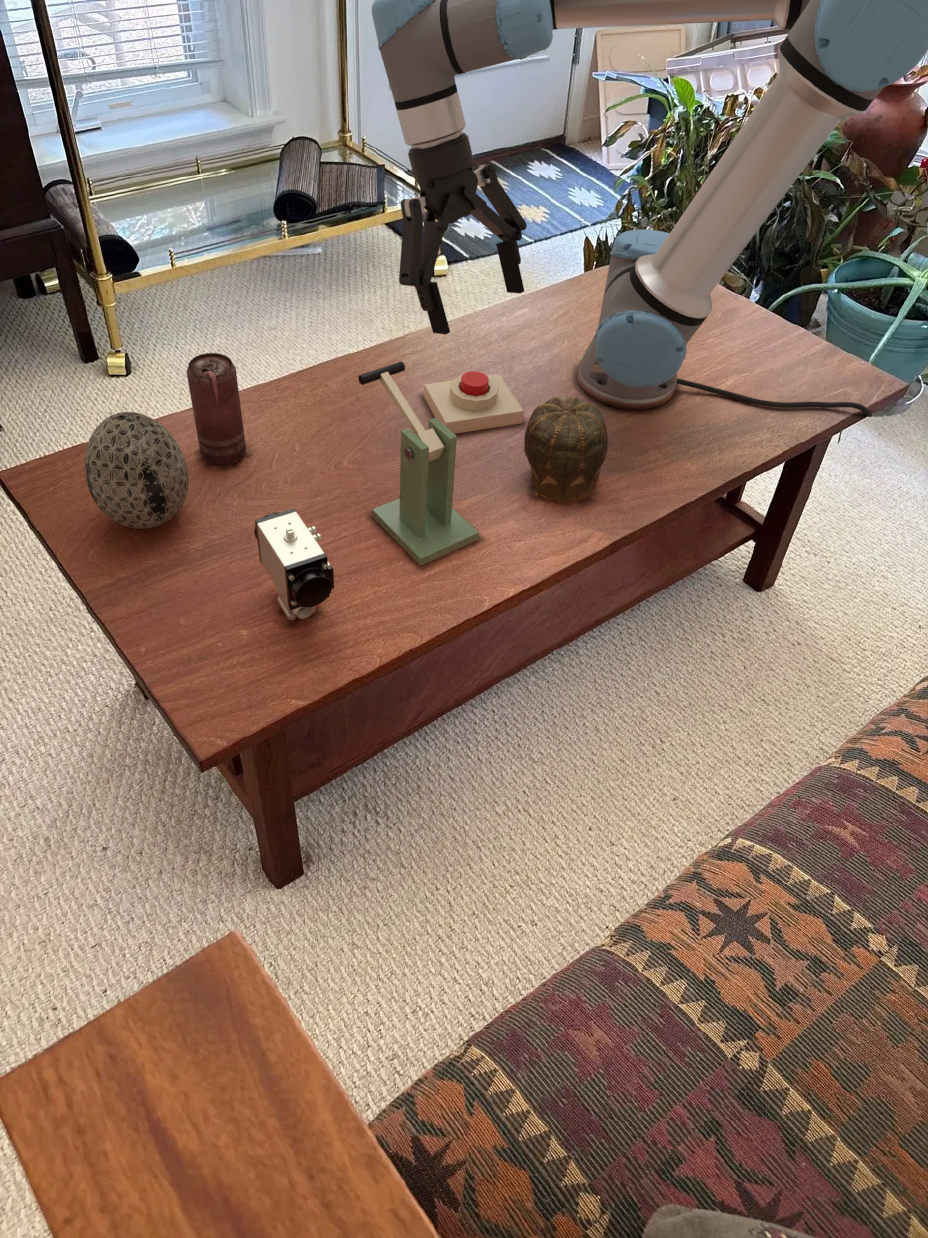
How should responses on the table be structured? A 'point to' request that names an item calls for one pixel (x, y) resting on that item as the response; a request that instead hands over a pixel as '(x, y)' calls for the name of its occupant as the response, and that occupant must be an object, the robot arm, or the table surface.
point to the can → (216, 408)
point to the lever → (404, 406)
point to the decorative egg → (135, 471)
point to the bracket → (426, 500)
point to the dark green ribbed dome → (565, 449)
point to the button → (474, 383)
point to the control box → (473, 405)
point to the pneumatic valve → (294, 562)
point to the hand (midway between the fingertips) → (479, 311)
